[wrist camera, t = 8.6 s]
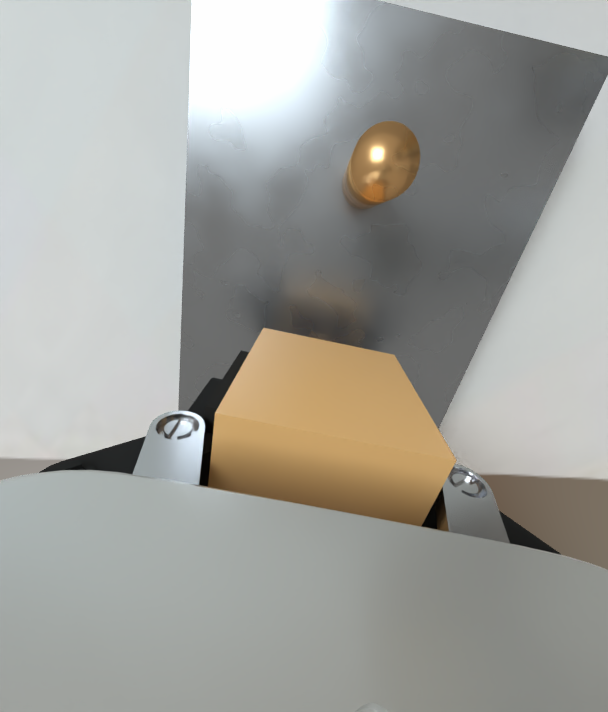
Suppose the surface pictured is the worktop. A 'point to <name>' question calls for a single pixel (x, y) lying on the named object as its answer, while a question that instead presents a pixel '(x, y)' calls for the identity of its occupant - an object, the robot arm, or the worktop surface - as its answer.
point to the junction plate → (302, 143)
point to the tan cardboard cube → (328, 431)
